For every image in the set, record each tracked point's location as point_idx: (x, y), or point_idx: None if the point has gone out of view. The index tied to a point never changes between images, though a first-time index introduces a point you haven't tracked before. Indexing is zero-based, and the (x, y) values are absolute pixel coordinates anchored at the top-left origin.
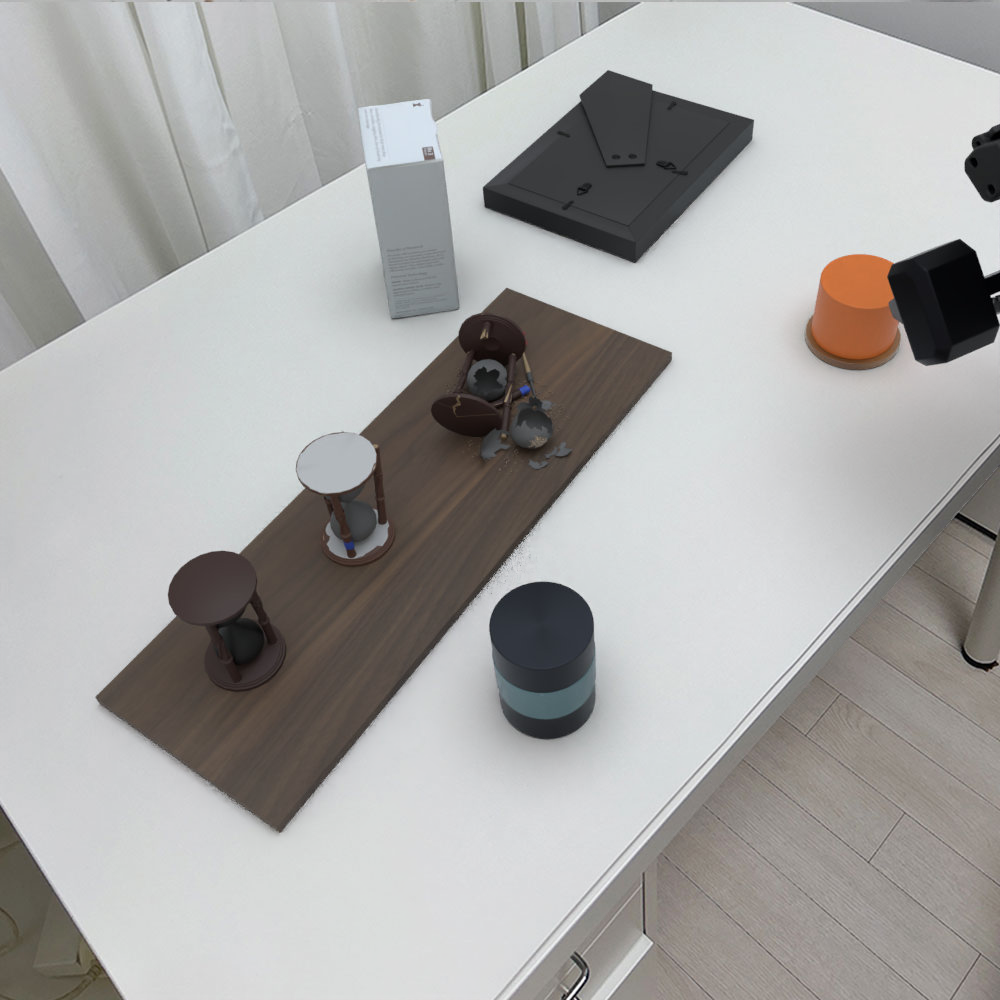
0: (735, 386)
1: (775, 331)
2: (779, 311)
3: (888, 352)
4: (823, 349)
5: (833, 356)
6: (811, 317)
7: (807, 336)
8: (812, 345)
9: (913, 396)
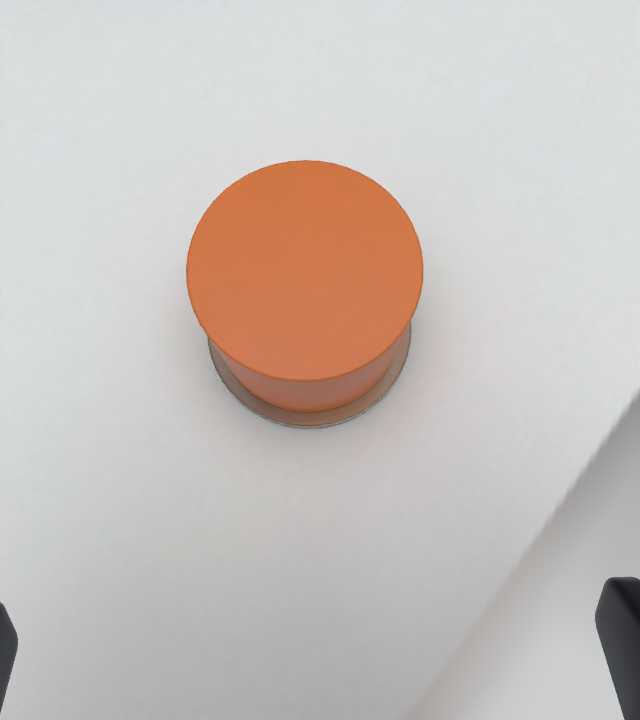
0: (12, 337)
1: (184, 239)
2: None
3: (337, 413)
4: None
5: (225, 367)
6: None
7: None
8: None
9: (317, 543)
